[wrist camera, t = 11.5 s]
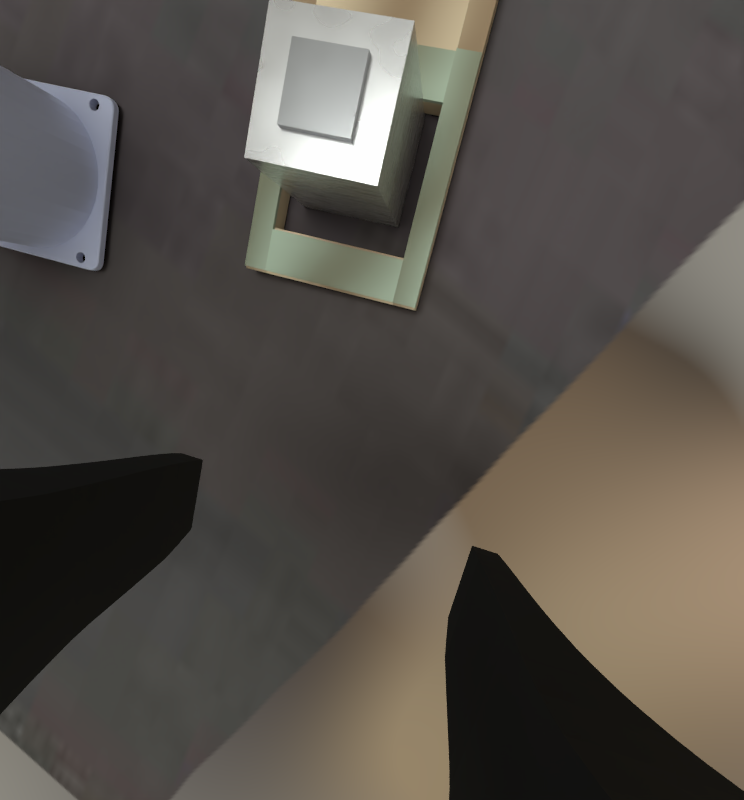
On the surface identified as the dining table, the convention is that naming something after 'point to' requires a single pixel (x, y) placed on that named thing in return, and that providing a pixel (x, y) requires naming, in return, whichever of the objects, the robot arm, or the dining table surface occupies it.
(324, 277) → the wooden peg board
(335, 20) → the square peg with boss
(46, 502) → the robot arm
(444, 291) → the dining table surface
